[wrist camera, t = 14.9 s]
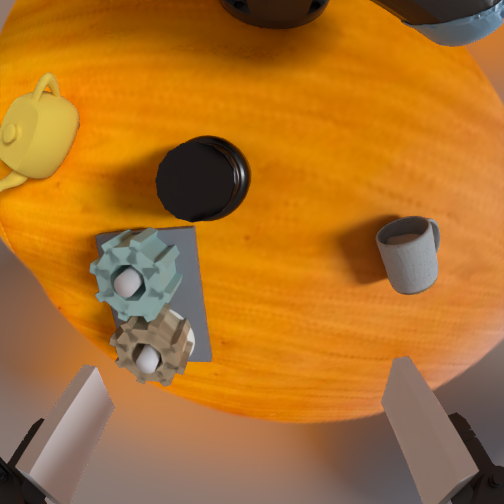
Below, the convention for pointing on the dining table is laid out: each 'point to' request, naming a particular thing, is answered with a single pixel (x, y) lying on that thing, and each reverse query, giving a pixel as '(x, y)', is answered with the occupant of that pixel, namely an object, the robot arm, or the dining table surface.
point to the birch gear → (154, 345)
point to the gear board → (185, 289)
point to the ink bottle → (203, 179)
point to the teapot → (37, 133)
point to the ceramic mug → (410, 253)
